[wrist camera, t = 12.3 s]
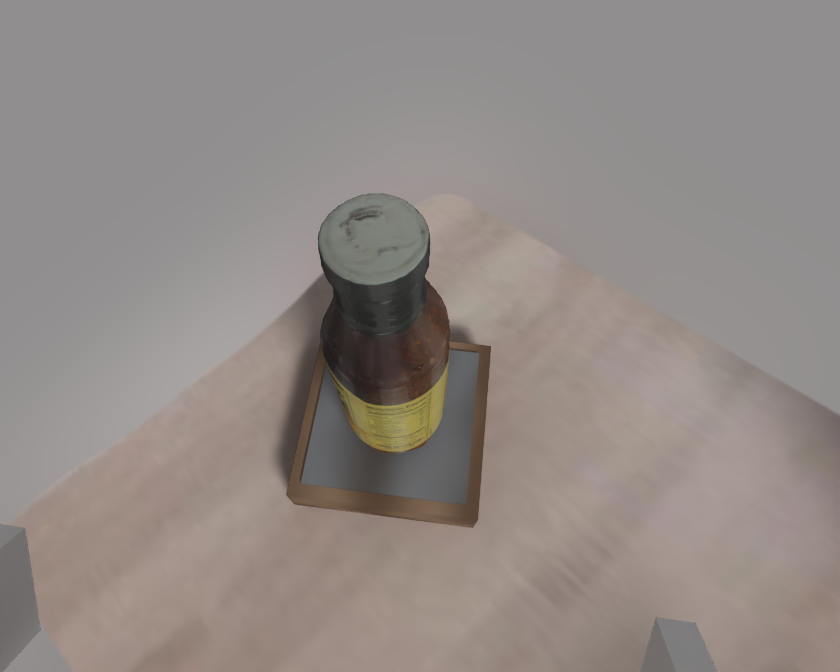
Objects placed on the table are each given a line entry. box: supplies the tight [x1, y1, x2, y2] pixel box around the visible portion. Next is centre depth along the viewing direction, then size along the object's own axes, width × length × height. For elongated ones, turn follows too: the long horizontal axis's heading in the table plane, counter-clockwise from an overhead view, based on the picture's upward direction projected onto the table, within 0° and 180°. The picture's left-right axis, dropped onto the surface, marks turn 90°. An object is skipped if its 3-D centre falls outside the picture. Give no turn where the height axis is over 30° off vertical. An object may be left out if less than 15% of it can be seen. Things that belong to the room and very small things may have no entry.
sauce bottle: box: [318, 194, 450, 454], centre depth 29 cm, size 6×6×20 cm
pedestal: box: [286, 341, 491, 528], centre depth 40 cm, size 12×12×3 cm
